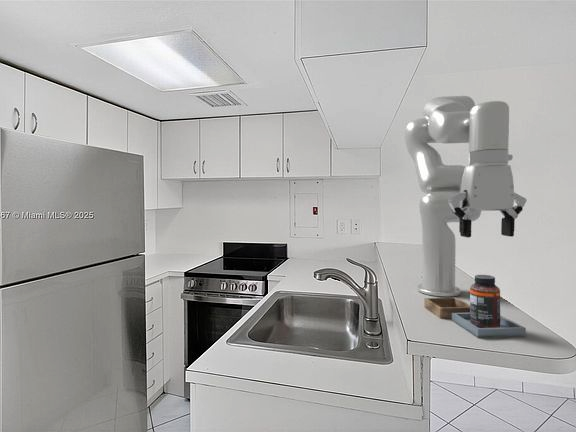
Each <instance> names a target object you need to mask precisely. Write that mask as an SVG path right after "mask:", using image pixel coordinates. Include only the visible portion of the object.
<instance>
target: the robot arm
mask: <svg viewBox="0 0 576 432" xmlns="http://www.w3.org/2000/svg"><path fill="white" fill-rule="evenodd" d="M422 114H423V118H417V119H414V120H411V121H409V122H408V124H406V127H405V129H404V140H405V145H406V149H407V151H408V153H409V155H410V157H411V159H412V161H413V162H414V165H415V170H416V175H417V180H418V184H419V187H420V190H421V192H423V193H424V195H423V196H422V197H421V198H420V201H419V204H418V205H419V207H418V208H419V214H420V218H421V228H422V229H421V230H422V231H421V234H422V235H421V236H422V263H421V264H422V265H421V267H422V272H421V273H422V275H421V279H422V282H421V283H420V284H418V285H417V287H416V289H417V291H418V292H419V293H422V294H425V295H428V296H434V297H442V298H451V297H456V296H459V295H461V293H462V290H461V288H459V287H458V286H456V235H455V233H454V231H453V230H452V229H451V228H450V227H449V225H448V224H449V223H459V232H458V233H460V234H459V235H460V237H463V238H471V237H472V222H476V221H477V220H478V219H479V218H480V217H481V215H482V211H483V212H484V211H486V212H487V211H488V212H489V211H490V212H491V211H499V212H500V213H501V214H502V216H503V217H502V218H501V229H500V231H501V234H500V235H502V236H504V237H514V236H515V220H516V219H517V218H518V216H519V215H520V214H521V212H523V208H524V206H525V204H526V203H527V198H526V197H524V196H521V195H520V194H518V193H516V192H515V188H514V187H515V185H514V183H515V182H514V176H513V170H512V168H511V165H509V161H512V160H513V155H512V154H509V142H510V141H509V140H510V139H509V136H510V135H509V133H510V128H509V127H510V106H509V104H508V103H507V102H505V101H502V100H501V101H500V100H494V101H493V100H492V101H485V102H481V103H478V104H476V103H475V100H473V98H472V97H470V96H467V95H455V96H454V95H451V96H450V95H449V96H438V97H437V96H436V97H433V98H432V99H430V100H429V101H427V103H425V105H424V106H423V110H422ZM435 143H439V144H466V143H467V144H468V166H465V165H459V164H450V165H449V164H444V163H443V160H442V156H441V154H440V153H439V151H437V149H435V148H434V147H433V146H431V145H429V144H435Z"/></svg>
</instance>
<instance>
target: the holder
mask: <svg viewBox="0 0 576 432" xmlns="http://www.w3.org/2000/svg"><path fill="white" fill-rule="evenodd" d="M423 304H424V306H423V307H424V308H425V309H426V310H427V311H429V312H430V313H432V314H433V315H434V316H435V317H437V318H439V319H452V313H470V303H469V304H468V303H467V302H465V301H463V300H461V299H459V298H457V297H456V296H452V297H428V298H427V297H425V298H424V303H423Z"/></svg>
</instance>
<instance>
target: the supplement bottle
mask: <svg viewBox="0 0 576 432" xmlns="http://www.w3.org/2000/svg"><path fill="white" fill-rule="evenodd" d="M495 283H496V276H493V275H489V274H476V275H474V283H473V284H471V285H470V286H469V287H470V288H469V305H470V322H471V323H472V324H473V325H475V326H476V327H479V328H499V327H500V315H501V289H500V288H499V286H498V285H496V284H495Z"/></svg>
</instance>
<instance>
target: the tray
mask: <svg viewBox="0 0 576 432" xmlns="http://www.w3.org/2000/svg"><path fill="white" fill-rule="evenodd" d="M451 321H452V322H453V323H455V324H457V325H458V326H460V327H461V328H462V329H464V330H465V331H467V332H469V333H470V334H471V335H473V336H474V337H476V338H477V339H485V338H486V339H490V338H518V337H519V338H521V337H527V335H526V334H527V330H526V327H524V326H522V325H520V324H519V323H516V322H514V321H513V320H511V319H509V318H507V317H505V316H503V315H501V314H500V327H499V328H479V327H476V326H475V325H473V324H472V323H471V322H470V313H452V318H451Z"/></svg>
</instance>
